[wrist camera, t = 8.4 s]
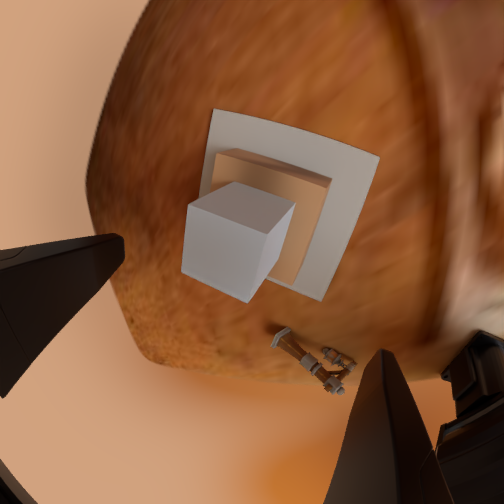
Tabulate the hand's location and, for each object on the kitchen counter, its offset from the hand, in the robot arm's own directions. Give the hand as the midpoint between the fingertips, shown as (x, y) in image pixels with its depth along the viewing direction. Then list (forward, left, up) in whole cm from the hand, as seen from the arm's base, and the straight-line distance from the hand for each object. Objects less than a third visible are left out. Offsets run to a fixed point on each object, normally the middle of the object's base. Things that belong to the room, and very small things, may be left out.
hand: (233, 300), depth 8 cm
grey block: (+3, +2, -9) cm, 10 cm away
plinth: (+3, +2, -12) cm, 13 cm away
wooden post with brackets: (-5, +13, -13) cm, 19 cm away
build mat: (+3, +2, -13) cm, 13 cm away
